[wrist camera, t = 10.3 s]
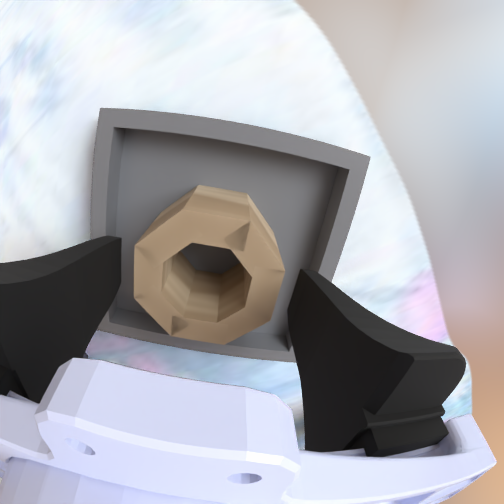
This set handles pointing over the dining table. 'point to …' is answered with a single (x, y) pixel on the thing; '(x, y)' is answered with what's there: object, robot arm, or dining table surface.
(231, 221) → the ring
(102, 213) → the tray
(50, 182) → the dining table surface
